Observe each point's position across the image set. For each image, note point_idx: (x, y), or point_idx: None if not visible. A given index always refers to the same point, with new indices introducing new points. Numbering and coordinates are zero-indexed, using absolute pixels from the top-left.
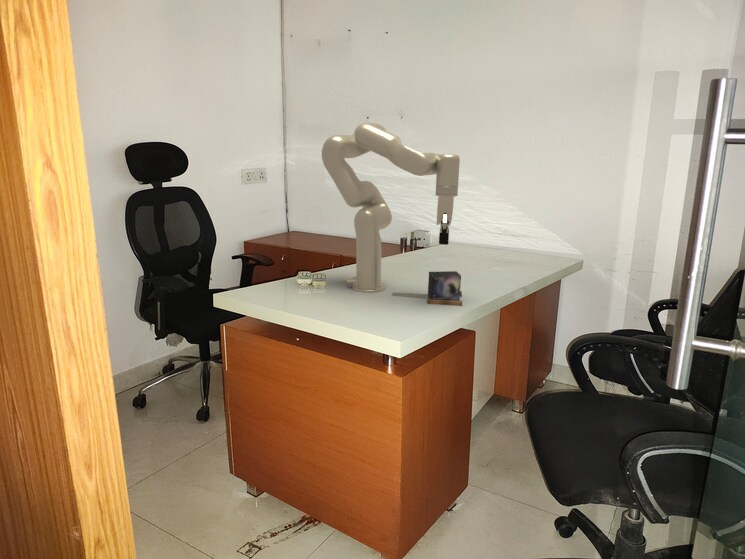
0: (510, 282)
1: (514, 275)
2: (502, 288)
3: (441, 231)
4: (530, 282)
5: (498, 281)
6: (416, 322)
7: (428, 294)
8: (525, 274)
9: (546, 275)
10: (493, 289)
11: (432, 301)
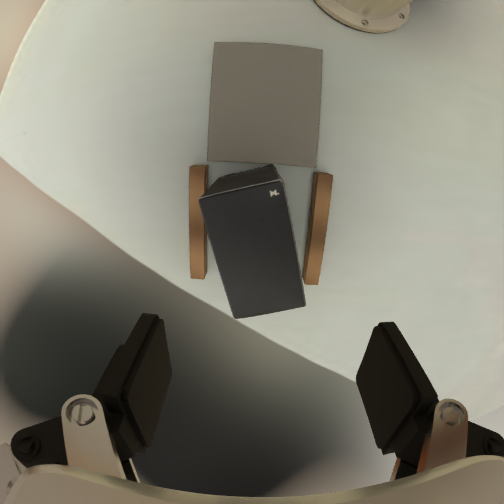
0: None
1: (459, 379)
2: None
3: (70, 415)
4: None
5: (433, 359)
6: (59, 152)
7: (259, 169)
8: (457, 392)
9: None
10: None
11: (189, 184)
